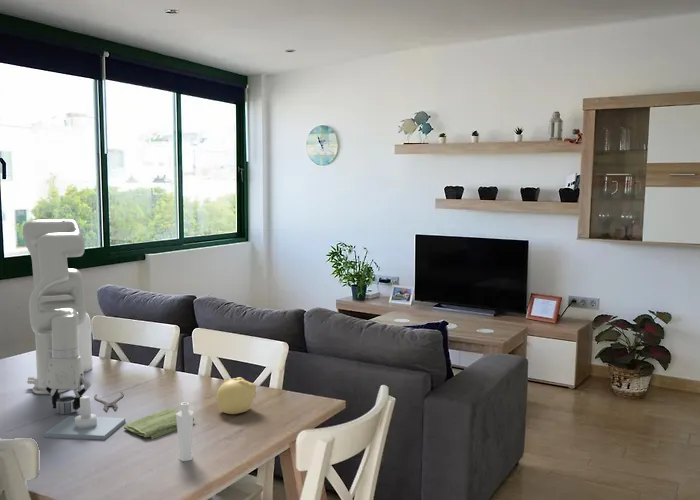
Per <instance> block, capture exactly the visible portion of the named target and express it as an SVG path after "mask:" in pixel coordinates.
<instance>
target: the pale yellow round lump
mask: <svg viewBox="0 0 700 500" xmlns="http://www.w3.org/2000/svg"><path fill="white" fill-rule="evenodd" d="M256 390H257V385H256V384H255V383H254V382H250V381H248V380H246V379H245V378H243V377H241V376H238V377H236V378H235V377H233V378H227V379H224V380H223V383H222V384H221V385H220V386H219V388H218V390H217V393H216V397H215V398H216V404H217V407H218V408H219V410H220V411H221V412H222V413H224V414H227V415H236V414H242V413H245V412H247V411H249V410H250V408H251V407H252V406H253V403H254V399H255V398H256V395H257V392H256Z"/></svg>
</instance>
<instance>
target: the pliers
mask: <svg viewBox="0 0 700 500" xmlns="http://www.w3.org/2000/svg"><path fill="white" fill-rule="evenodd" d="M120 394H121V396H119V397H117V398H116V399H114V400H113V401H112V402H107V401H105V400H102V399H99V398H98V397H97V396H98V394H97V393H95V394H94V396H93V398H94V400H95V401H97V402H99V403H102V404H103V411H105V413H108V410H109V408H112V409H113V410H114V412H117V410H118V408H119V406H118V405H117V403H118V402H119V401H120V400H121V399H123V398H124V395H125V393H124V392H123V391H120Z"/></svg>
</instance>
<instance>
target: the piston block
mask: <svg viewBox="0 0 700 500" xmlns="http://www.w3.org/2000/svg"><path fill="white" fill-rule="evenodd" d="M79 410H80V411H79V413H80V414H79V415H74V416H73V415H69V416H67V417H65V418H64V419H62V420H61V421H59V422H58V423H57V424H55V425H54V426H53V427H51V428H50V429H47V430H46V431H45V432H44V433H43V438H51V439H52V438H53V439H54V438H55V439H56V438H58V439H78V440H79V439H80V440H82V439H83V440H99V441H100V440H103V441H105V440H106V439H107V438H108V437H110V436H111V435H112V434H114V432H116V430H118V429H119V428H120V427H121V426H123V425H124V424H125V423H126V417H103V416H97V414H95V413H91V396H89V395H84V396H83V395H82V397H80V408H79Z"/></svg>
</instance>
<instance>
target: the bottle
mask: <svg viewBox="0 0 700 500" xmlns="http://www.w3.org/2000/svg"><path fill="white" fill-rule="evenodd" d="M91 321H92V320H91V317H90V315H89V313H88V312H86V319H85V321H84V323H82V324H80V325H78V356H80V357H81V360H82V365H83V372H84V373H85V372H89V371H91V370H92V369H93V349H92V347H93V346H92V322H91Z"/></svg>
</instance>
